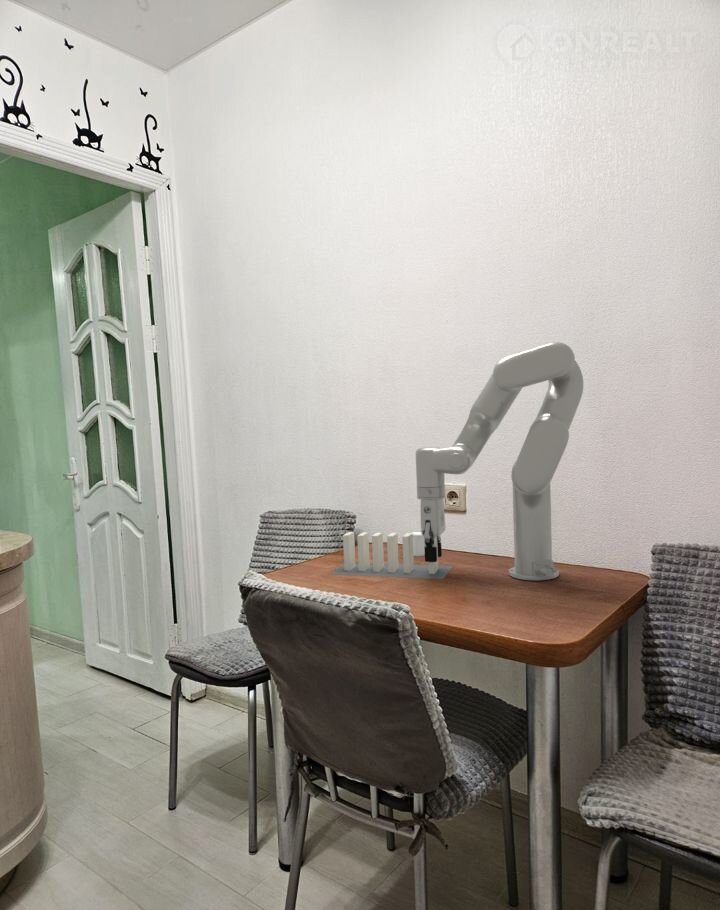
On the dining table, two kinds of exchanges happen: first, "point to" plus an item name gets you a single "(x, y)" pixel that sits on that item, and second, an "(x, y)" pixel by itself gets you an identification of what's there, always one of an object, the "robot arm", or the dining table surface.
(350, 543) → the domino
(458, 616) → the dining table surface
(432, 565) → the domino
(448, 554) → the dining table surface
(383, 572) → the mat
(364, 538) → the domino
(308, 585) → the dining table surface
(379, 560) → the domino
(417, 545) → the white cup
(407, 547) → the domino
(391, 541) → the domino
